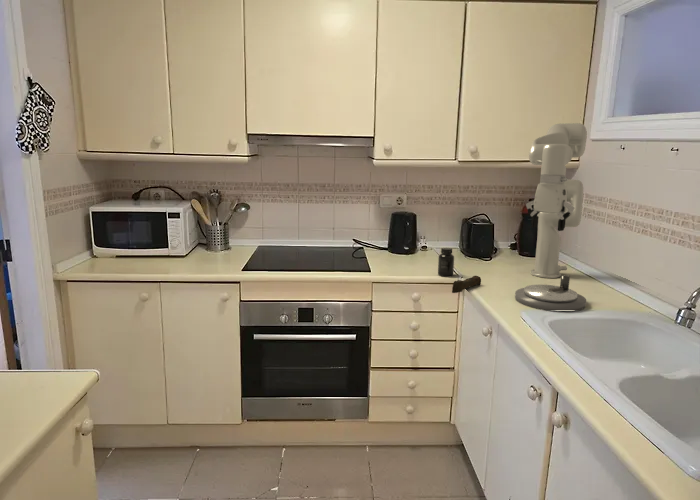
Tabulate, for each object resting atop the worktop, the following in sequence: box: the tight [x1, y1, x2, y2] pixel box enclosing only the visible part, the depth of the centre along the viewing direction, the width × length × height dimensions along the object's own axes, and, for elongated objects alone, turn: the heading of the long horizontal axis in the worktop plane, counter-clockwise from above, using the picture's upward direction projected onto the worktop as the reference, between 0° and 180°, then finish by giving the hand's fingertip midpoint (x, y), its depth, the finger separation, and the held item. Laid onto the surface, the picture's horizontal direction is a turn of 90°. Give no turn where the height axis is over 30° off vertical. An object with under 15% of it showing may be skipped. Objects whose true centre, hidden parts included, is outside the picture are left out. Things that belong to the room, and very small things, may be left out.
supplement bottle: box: [437, 247, 455, 278], centre depth 210 cm, size 7×7×12 cm
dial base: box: [514, 287, 587, 311], centre depth 174 cm, size 24×24×2 cm
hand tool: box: [451, 275, 482, 294], centre depth 189 cm, size 19×4×5 cm, turn 134°
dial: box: [523, 274, 579, 303], centre depth 173 cm, size 18×18×6 cm
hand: (547, 228), depth 168 cm, fingers open, 9 cm apart
